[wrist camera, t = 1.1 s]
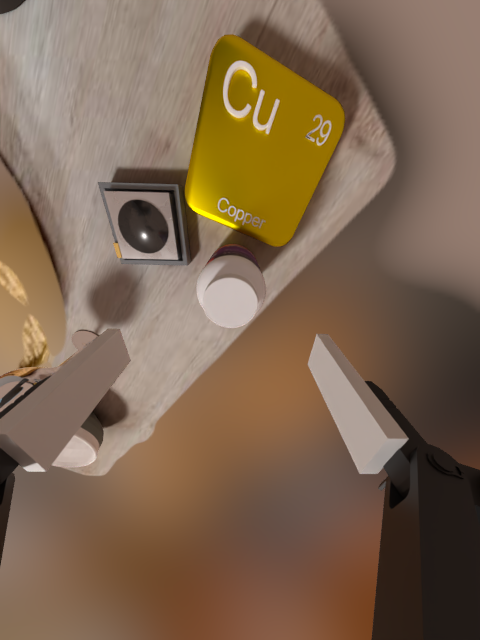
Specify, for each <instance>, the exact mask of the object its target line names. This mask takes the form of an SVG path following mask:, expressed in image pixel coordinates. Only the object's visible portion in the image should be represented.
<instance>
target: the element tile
mask: <svg viewBox="0 0 480 640" xmlns="http://www.w3.org/2000/svg"><path fill="white" fill-rule="evenodd" d="M344 123H345V113H344V109H343V107H342V105H341V104H340V102H339V101H338V100H337V99H335V98H334V97H332V96H331V95H329V94H327V93H326V92H324V91H323V90H321V89H320V88H318V87H317V86H315V85H313V84H312V83H310V82H309V81H307V80H306V79H304V78H303V77H301V76H300V75H298V74H296V73H295V72H293V71H292V70H290V69H289V68H287V67H286V66H284V65H282V64H281V63H279V62H278V61H276V60H275V59H273V58H272V57H270V56H268V55H267V54H265V53H264V52H262V51H261V50H259V49H258V48H256V47H254V46H253V45H251V44H250V43H248V42H247V41H245V40H244V39H242V38H240V37H238V36H236V35H233V34H232V35H224V36H222V37H221V38H220V39H218V41H217V42H216V44H215V46H214V48H213V50H212V53H211V55H210V60H209V66H208V71H207V76H206V81H205V86H204V91H203V97H202V102H201V107H200V112H199V117H198V122H197V128H196V133H195V138H194V143H193V148H192V153H191V159H190V164H189V169H188V174H187V179H186V184H185V198H186V202H187V204H188V206H189V207H190V208H191V209H192V210H193V211H194V212H196V213H197V214H199V215H201V216H204V217H206V218H208V219H211V220H213V221H215V222H218V223H220V224H222V225H225V226H227V227H229V228H232V229H234V230H236V231H239V232H241V233H243V234H246V235H248V236H250V237H253V238H255V239H257V240H259V241H262V242H264V243H266V244H269V245H271V246H275V247H280V246H283V245H285V244H287V243H288V242H289V241H290V240H291V238H292V237H293V235H294V233H295V231H296V228H297V226H298V224H299V222H300V220H301V218H302V216H303V214H304V212H305V210H306V208H307V206H308V204H309V201H310V199H311V197H312V195H313V193H314V191H315V189H316V187H317V185H318V183H319V181H320V179H321V177H322V174H323V172H324V170H325V168H326V166H327V164H328V162H329V160H330V158H331V156H332V154H333V152H334V150H335V147H336V145H337V143H338V141H339V139H340V137H341V135H342V132H343V129H344Z"/></svg>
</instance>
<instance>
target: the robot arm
mask: <svg viewBox="0 0 480 640" xmlns="http://www.w3.org/2000/svg"><path fill="white" fill-rule="evenodd" d="M22 1H23V0H0V14H3V13H6V12H9V11H11V10H13V9H15V8H16V7H17V6H19V5H20V4H21V3H22ZM130 361H131V360H130V357H129V354H128V351H127V348H126V346H125V343H124V340H123V337H122V334H121V331H120V329H107V330H106V331H104V332H103V333H102V334H101V335H100V336H98V337H97V338H96V339H95V340H94V341H93V342H91V343H90V344H89V345H88V346H87V347H85V348H84V349H83V350H82V351H81V352H79V353H78V354H77V355H76V356H75V357H73V358H72V359H71V360H70V361H69V362H68V363H66V364H65V365H64V366H63V367H62V368H60V369H59V370H58V371H57V372H56V373H54V374H53V375H52V376H48V377H46V378H45V379H43V380H41V381H39V382H38V383H36V384H35V385H33V386H32V387H31V388H30V389H28V390H27V391H26V392H25V393H24V395H21V396H20V397H19V398H17V399H16V400H15V401H14V403H11V404H10V405H9V406H7V407H6V408H5V409H4V410H3V411H1V412H0V565H1V558H2V552H3V547H4V541H5V535H6V529H7V523H8V517H9V511H10V505H11V499H12V493H13V487H14V482H15V476H14V474H13V473H12V472H13V471H14V469H15V468H16V467H17V466H18V465H20V466H22V467H23V468H24V469H25V470H26V471H40V472H41V471H43V472H46V471H47V470H48V469H49V467H50V466H51V465H52V464H53V462H54V461H55V460H56V458H57V457H58V456H59V454H60V453H61V452H62V450H63V449H64V448H65V446H66V445H67V444H68V443H69V441H70V440H71V439H72V437H73V436H74V435H75V433H76V432H77V431H78V429H79V428H80V427H81V425H82V424H83V423H84V421H85V420H86V419H87V418H88V416H89V415H90V414H91V412H92V411H93V410H94V408H95V407H96V406H97V404H98V403H99V402H100V400H101V399H102V398H103V396H104V395H105V394H106V393H107V391H108V390H109V389H110V387H111V386H112V385H113V383H114V382H115V381H116V379H117V378H118V377H119V375H120V374H121V373H122V371H123V370H124V369H125V368H126V366H127V365H128V364H129V362H130ZM308 366H309V368H310V370H311V372H312V374H313V377H314V379H315V381H316V383H317V385H318V387H319V389H320V391H321V393H322V396H323V398H324V400H325V402H326V404H327V406H328V408H329V410H330V412H331V414H332V416H333V418H334V421H335V423H336V425H337V427H338V429H339V431H340V433H341V435H342V438H343V440H344V442H345V444H346V446H347V448H348V450H349V452H350V454H351V457H352V459H353V461H354V463H355V465H356V467H357V469H358V471H359V473H360V474H377V473H378V472H379V471H380V470H381V469H382V468H383V467H384V469H385V471H386V472H387V474H388V477H387V478H386V479H385V480H384V481H383V482H382V483H381V484H380V486H379V489H380V490H382V489H384V488H385V497H384V508H383V519H382V530H381V541H380V552H379V564H378V576H377V586H376V597H375V609H374V619H373V631H372V640H480V470H478V469H475V468H472V467H468V466H466V465H462V464H459V463H458V462H457V461H456V460H454V459H453V458H452V457H451V456H450V455H449V454H447V453H446V452H444V451H443V450H441V449H440V448H437V447H435V446H432V445H429V444H427V443H426V441H424V439H423V438H422V437H421V436H420V435H419V433H418V432H417V431H416V430H415V429H414V427H413V426H412V425H411V424H410V423H409V422H408V420H407V419H406V418H405V417H404V416H403V414H402V413H401V412H400V411H399V410H398V409H397V408H396V406H395V405H394V404H393V402H392V401H390V400H389V398H388V396H387V395H386V394H385V393H384V392H383V390H382V389H380V388H379V387H378V386H377V385H375V384H374V383H373V382H371V381H364V380H363V379H362V378H361V376H360V375H359V374H358V372H357V371H356V370H355V369H354V367H353V366H352V365H351V363H350V362H349V361H348V360H347V358H346V357H345V356H344V354H343V353H342V352H341V351H340V349H339V348H338V347H337V346H336V344H335V343H334V342H333V340H332V339H331V338H330V336H329V335H328V334H317V335H316V338H315V341H314V345H313V348H312V352H311V355H310V358H309V362H308Z"/></svg>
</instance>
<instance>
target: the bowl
mask: <svg viewBox="0 0 480 640" xmlns="http://www.w3.org/2000/svg"><path fill="white" fill-rule="evenodd" d="M103 434H104V433H103V428H102V426H101V423H100V422H99V420H98V419H97V417H96V415H95V414H94V413H93V412H91V414H90V415H89V416H88V418H87V419H86V420H85V421H84V423H83V424H82V425H81V427H80V428H79V429H78V431H77V432H76V433H75V435H74V436H73V437H72V439H71V440H70V441H69V443H68V444H67V445H66V446H65V448H64V449H63V450H62V452H61V453H60V454H59V456H58V457H57V458H56V460H55V461H54V462H53V464H52V465H54V466H59V467H82V466H86V465H89V464H91V463H92V462H94V461H95V460H96V458H97V455H98V450H99V448H100V446H101V444H102V441H103Z"/></svg>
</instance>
